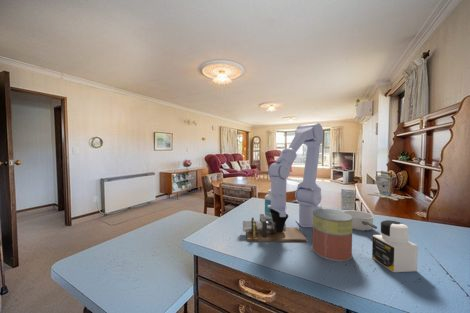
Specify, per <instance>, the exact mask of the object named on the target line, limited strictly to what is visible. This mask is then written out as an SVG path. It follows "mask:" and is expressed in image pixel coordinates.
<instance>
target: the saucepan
mask: <svg viewBox="0 0 470 313" xmlns="http://www.w3.org/2000/svg"><path fill="white" fill-rule="evenodd" d="M342 212H345V213H348V214H350V215H351V216H352V217H353V219H352V230H356V231H363V232H366V231H365V230H367V231H370V230H373V229H374V230H376V229H378V226H376V225H375V224H374V218H375V215H373V214H372V213H369V212H366V211H361V210H353V209H351V210H350V209H345V210H343V211H342Z"/></svg>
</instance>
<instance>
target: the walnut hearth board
mask: <svg viewBox="0 0 470 313" xmlns="http://www.w3.org/2000/svg"><path fill="white" fill-rule="evenodd" d="M252 235H253V232H246V239H247V242H288V243H289V242H292V243H293V242H295V243H296V242H299V243H301V242H302V243H303V242H305V243H307V242H308V240H307V237H306V236H304V234H303V233H302V231H300V229H299V228H298V227H295V226H293V227H292V226H286V231H285V232H282V233H277V232H275V233H271V232H267V237H262V232H255V235H257V237H252Z"/></svg>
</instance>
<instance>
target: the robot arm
mask: <svg viewBox="0 0 470 313" xmlns="http://www.w3.org/2000/svg"><path fill="white" fill-rule="evenodd" d="M294 134H295V135H294V137H293V139H292V141H291V142H290V144H289V146H288V147H286V148H284V149H282V151H281V153H280V155H279V156H278V158H277V159H276V161H274V162H273V163H271V164H270V165H269V167H268V170H267V174H268V176H269V181H270V189H271V205H268V208H270V209H269V210H270V212H271V215H272V219H273V220H274V221H275V226H276V231H277V233H282V232H283V229H284V225H286V221H287V219H288V218H289V214H288V213H287V179H288V177H289V176H290V174H291V169H292V165H293V163H294V162H295V160H296V159H297V152H298V150H300V148H301V146H302V145H305V146H306V147H307V148H306V156H305V162H304V163H305V164H304V170H303V178H302V181H301V182H299V183H298V184H297V188H296V189H295V190H296V191H294V192H295V193H294V198H295V200H296V201H297V203H298V219H295V222H296V223H297V225H299V226H300V227H301V228H313V211H315V210H318V209H323V206H322V205H321V202H322V188H321V187H320V186H319V185H318V184H317V183H316V181H317V175H318V165H319V158H320V150H321V144H323V139H324V128H323V126H322V124H321V123H319V122H316V123H310V124H303V125H302V124H300V125H298V126H297V127H296V129H295V130H294Z"/></svg>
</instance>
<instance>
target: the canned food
mask: <svg viewBox="0 0 470 313" xmlns="http://www.w3.org/2000/svg"><path fill="white" fill-rule="evenodd" d="M352 219H353V217H352V216H351V215H350V214H348V213H345V212H343V211H341V210H335V209H328V208H322V209H318V210H315V211H313V227H312V251H313V252H314V253H316V255H318V256H320V257H321V258H323V259H325V260H329V261H334V262H348V261H351V259H352V258H353V229H352Z"/></svg>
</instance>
